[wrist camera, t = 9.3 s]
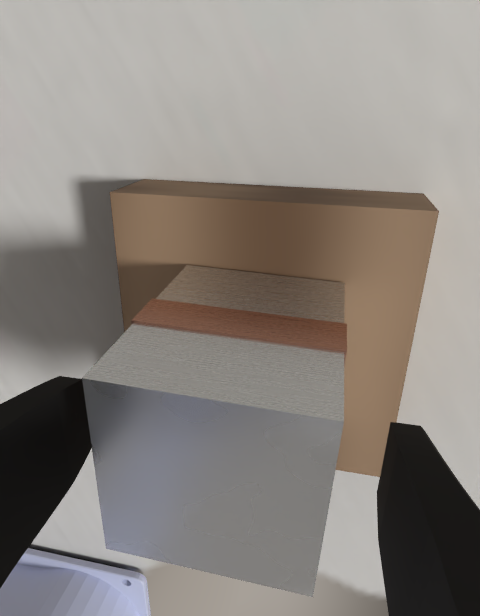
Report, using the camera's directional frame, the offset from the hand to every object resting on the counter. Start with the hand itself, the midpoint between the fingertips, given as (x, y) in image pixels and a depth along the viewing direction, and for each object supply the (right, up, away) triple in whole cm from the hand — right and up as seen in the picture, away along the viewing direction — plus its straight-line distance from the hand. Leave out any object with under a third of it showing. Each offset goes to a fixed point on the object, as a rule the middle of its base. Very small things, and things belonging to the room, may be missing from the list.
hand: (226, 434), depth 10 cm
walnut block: (+1, +3, +6) cm, 7 cm away
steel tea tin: (+1, +2, +4) cm, 4 cm away
